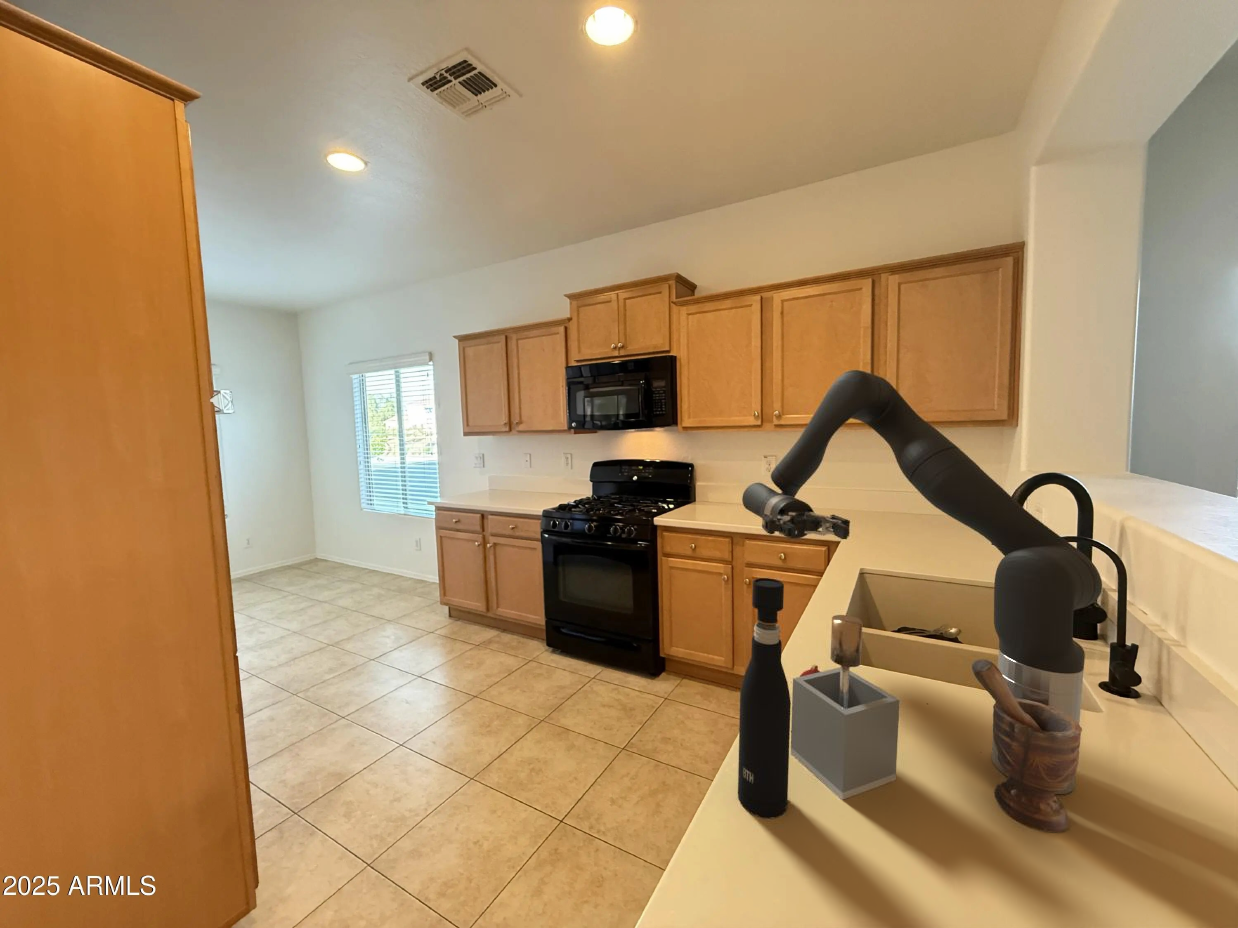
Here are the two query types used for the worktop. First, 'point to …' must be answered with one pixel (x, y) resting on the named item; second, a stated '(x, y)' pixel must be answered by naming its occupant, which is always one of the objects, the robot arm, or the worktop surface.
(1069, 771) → the mortar and pestle
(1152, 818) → the worktop surface
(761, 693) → the black water bottle
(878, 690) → the grey open box
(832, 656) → the plunger
